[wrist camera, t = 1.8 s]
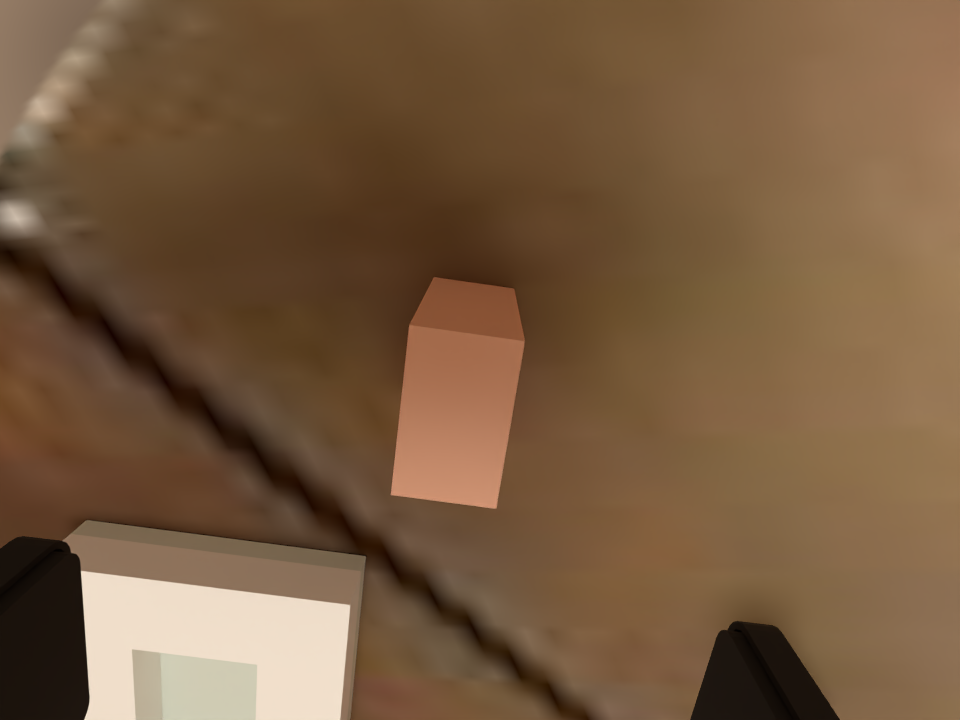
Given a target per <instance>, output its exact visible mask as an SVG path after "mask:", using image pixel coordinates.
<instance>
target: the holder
mask: <svg viewBox="0 0 960 720" xmlns="http://www.w3.org/2000/svg"><path fill="white" fill-rule="evenodd" d="M63 541H64V542H66V543H67V544H68V545H69V546H70V550H71V553H74V554H77V555H78V557H79V558H80V563H81V578H82V593H83V607H84V622H85V637H86V651H87V666H88V681H89V695H90V700H89V707H88V711H87V714H86V716H85V719H84V720H350V717H351V707H352V696H353V686H354V676H355V665H356V655H357V644H358V634H359V624H360V613H361V603H362V592H363V582H364V571H365V561H366V556H361V555H353V554H346V553H338V552H330V551H322V550H315V549H307V548H299V547H292V546H284V545H276V544H268V543H261V542H253V541H245V540H237V539H230V538H222V537H214V536H207V535H199V534H191V533H183V532H176V531H168V530H160V529H153V528H145V527H137V526H129V525H122V524H114V523H106V522H98V521H91V520H86V521H85V522H84V523H83V524H81V525H80V526H79V527H78V528H77V529H76V530H75V531H73V532H72V533H71V534H70V535H69V536H68V537H67V538H65V539H64V540H63Z"/></svg>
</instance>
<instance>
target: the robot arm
mask: <svg viewBox="0 0 960 720" xmlns="http://www.w3.org/2000/svg"><path fill="white" fill-rule="evenodd" d="M89 700H90V695H89V681H88V666H87V651H86V637H85V622H84V607H83V593H82V578H81V563H80V558H79V557H78V555H77V554H74V553H71V550H70V546H69V545H68V544H67V543H66V542H64V541H59V540H50V539H42V538H34V537H25V536H22V537H17V538H15V539H13V540H12V541H10V542H9V543H7V544H6V545H5V546H3V547H2V548H1V549H0V720H84V719H85V716H86V714H87V711H88V707H89ZM690 720H840V719H839V718H838V716H837V715H836V713H835V712H834V710H833V709H832V707H831V706H830V704H829V703H828V701H827V700H826V698H825V697H824V695H823V694H822V692H821V691H820V689H819V688H818V686H817V685H816V683H815V682H814V680H813V679H812V677H811V676H810V674H809V673H808V671H807V670H806V668H805V667H804V665H803V664H802V662H801V661H800V659H799V658H798V656H797V655H796V653H795V652H794V650H793V649H792V647H791V646H790V644H789V643H788V641H787V640H786V638H785V637H784V635H783V634H782V632H781V631H780V630H779V629H778V628H777V627H775V626H773V625H765V624H757V623H748V622H740V621H736V622H733V623H732V624H731V625H730V626H729V628H728V630H721V631H720V632H719V633H718V636H717V638H716V641H715V644H714V647H713V650H712V653H711V657H710V660H709V663H708V666H707V669H706V672H705V675H704V679H703V682H702V685H701V688H700V691H699V694H698V697H697V700H696V704H695V707H694V710H693V713H692V716H691V719H690Z"/></svg>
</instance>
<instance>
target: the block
mask: <svg viewBox="0 0 960 720" xmlns="http://www.w3.org/2000/svg"><path fill="white" fill-rule="evenodd" d="M524 344H525V339H524V334H523V329H522V324H521V319H520V314H519V310H518V305H517V300H516V295H515V290H514V288H507V287H500V286H493V285H486V284H479V283H472V282H465V281H458V280H451V279H444V278H437V277H434V278H433V280H432V282H431V284H430V286H429V288H428V290H427V292H426V293H425V295H424V297H423V299H422V301H421V303H420V305H419V307H418V309H417V311H416V313H415V315H414V317H413V319H412V321H411V323H410V325H409V332H408V342H407V351H406V360H405V369H404V379H403V388H402V397H401V406H400V416H399V425H398V434H397V444H396V453H395V462H394V471H393V481H392V490H391V495H396V496H404V497H411V498H419V499H426V500H434V501H442V502H449V503H457V504H464V505H472V506H479V507H487V508H494V509H496V506H497V500H498V495H499V489H500V483H501V477H502V472H503V466H504V460H505V454H506V448H507V443H508V437H509V431H510V425H511V419H512V414H513V408H514V402H515V396H516V390H517V385H518V379H519V373H520V367H521V361H522V356H523V350H524Z"/></svg>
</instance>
